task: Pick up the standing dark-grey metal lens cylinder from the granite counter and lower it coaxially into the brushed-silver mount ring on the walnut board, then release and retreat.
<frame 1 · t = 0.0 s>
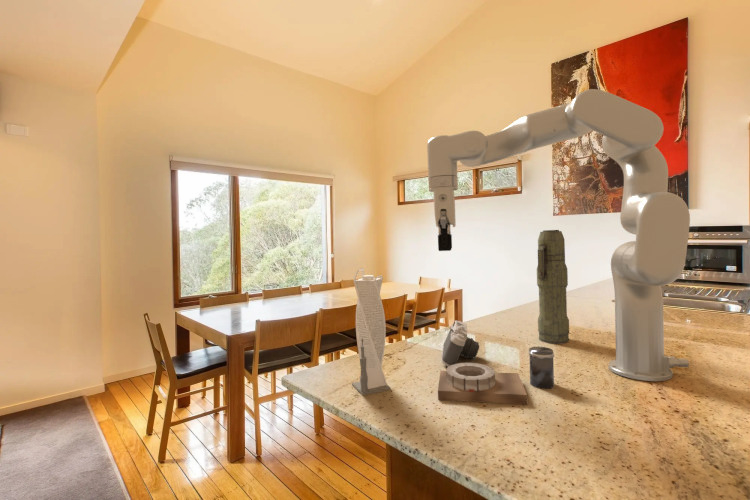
hand: (445, 249, 99), 31 cm above the kitchen counter, tool pointing down, fingers open, 9 cm apart
mount board: (480, 390, 84), on the kitchen counter
lens: (542, 384, 86), on the kitchen counter
thermos: (553, 340, 120), on the kitchen counter
camera: (460, 360, 106), on the kitchen counter
skyscraper: (371, 386, 90), on the kitchen counter
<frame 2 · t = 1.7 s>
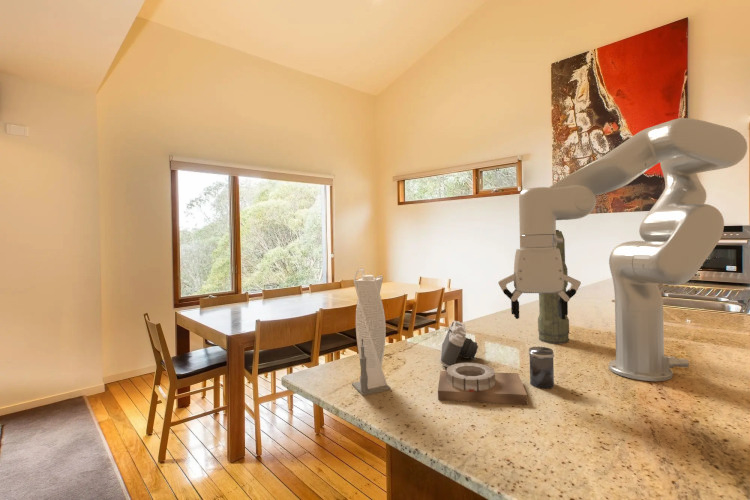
hand: (539, 317, 86), 15 cm above the kitchen counter, tool pointing down, fingers open, 9 cm apart
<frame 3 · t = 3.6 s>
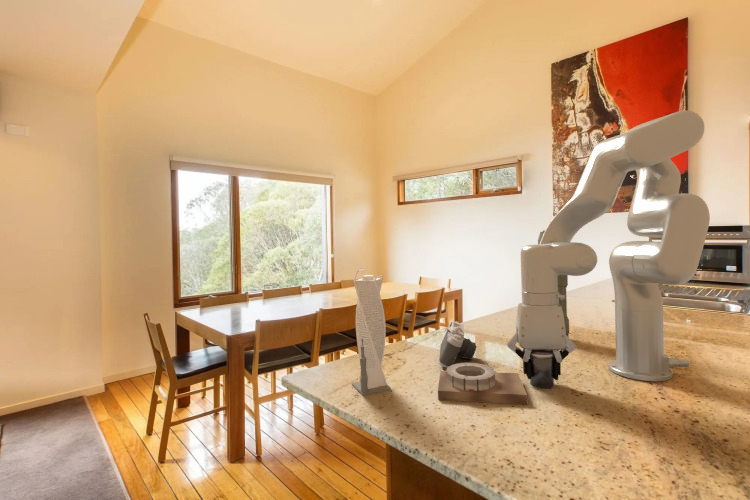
hand: (541, 376, 86), 2 cm above the kitchen counter, tool pointing down, fingers closed on lens, 5 cm apart
lens: (542, 384, 86), on the kitchen counter, touching gripper
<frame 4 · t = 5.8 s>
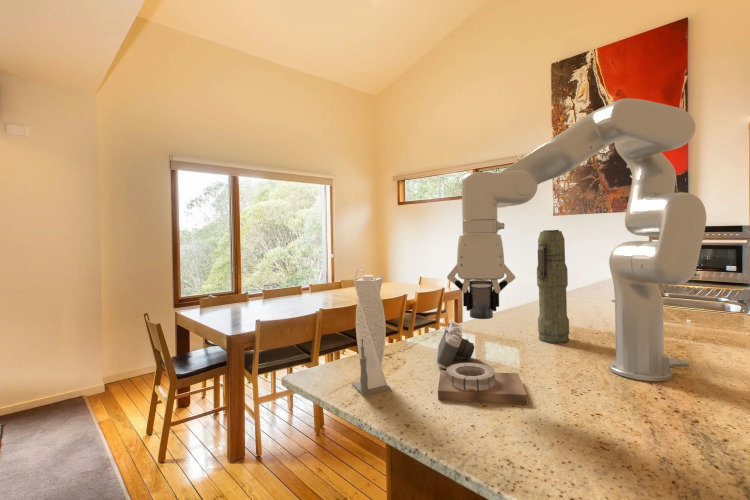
hand: (480, 309, 84), 18 cm above the kitchen counter, tool pointing down, fingers closed on lens, 5 cm apart
lens: (481, 316, 84), point 17 cm above the kitchen counter, touching gripper
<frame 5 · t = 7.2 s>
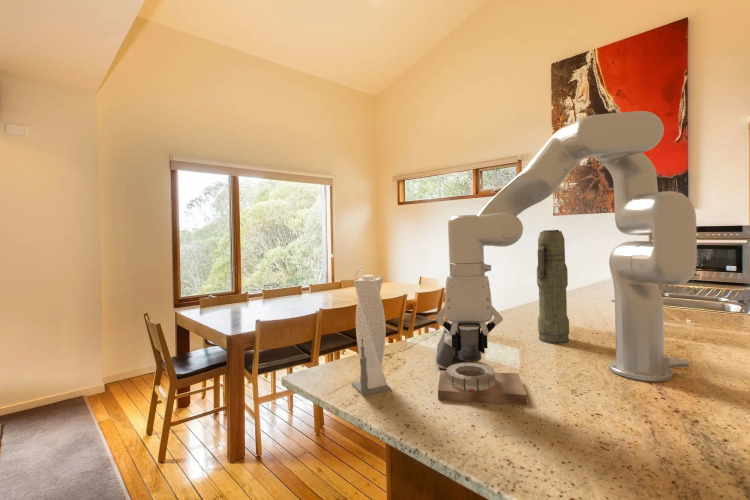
hand: (469, 350, 85), 9 cm above the kitchen counter, tool pointing down, fingers closed on lens, 5 cm apart
lens: (469, 357, 85), point 7 cm above the kitchen counter, touching gripper
when the fingers open (5 cm above the kitchen counter, at t = 8.3 s): lens drops 2 cm, resting on mount board.
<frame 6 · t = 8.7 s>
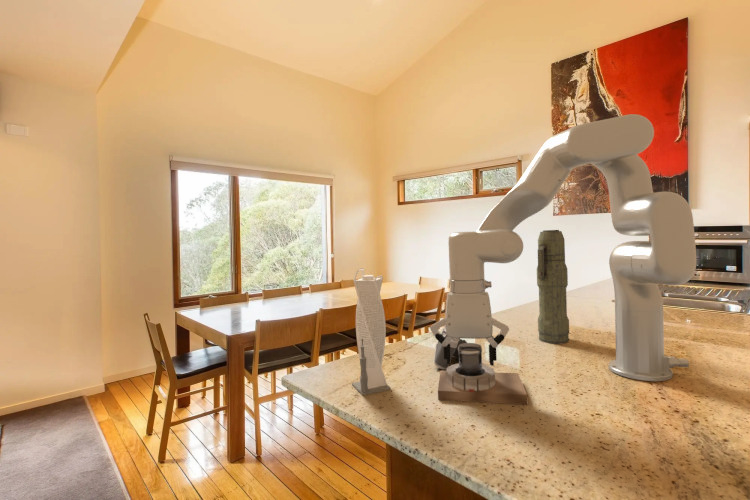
hand: (469, 362, 85), 6 cm above the kitchen counter, tool pointing down, fingers open, 9 cm apart
lens: (471, 381, 85), point 2 cm above the kitchen counter, touching mount board
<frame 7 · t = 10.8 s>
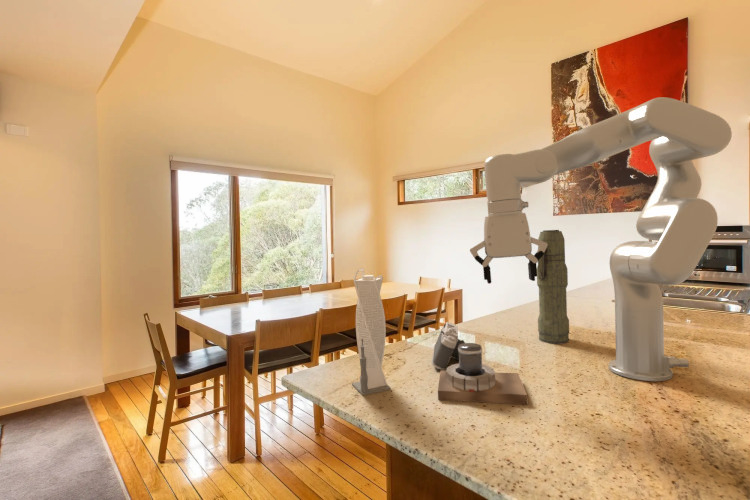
hand: (510, 281, 88), 24 cm above the kitchen counter, tool pointing down, fingers open, 9 cm apart
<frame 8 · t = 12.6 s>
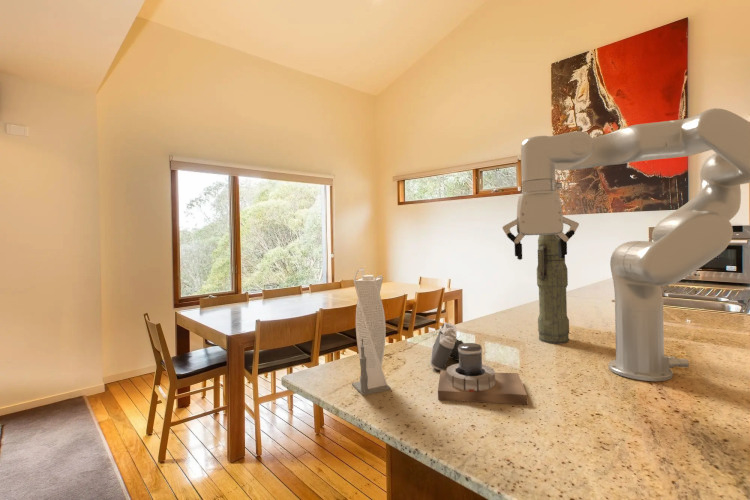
hand: (540, 258, 93), 28 cm above the kitchen counter, tool pointing down, fingers open, 9 cm apart
at the end: lens 0.1 cm from the target spot on the mount board, point 2.0 cm above the mount board's base; lens tilted 0°; the gripper is holding nothing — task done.
